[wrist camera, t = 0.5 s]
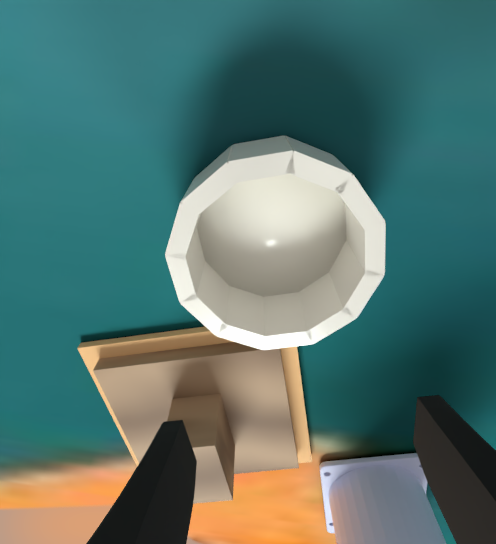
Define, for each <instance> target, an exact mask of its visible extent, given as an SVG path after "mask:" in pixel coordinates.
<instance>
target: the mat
mask: <svg viewBox="0 0 496 544" xmlns="http://www.w3.org/2000/svg"><path fill="white" fill-rule="evenodd" d="M229 342H234V341H230V340H227V339H224V338H220V337H217V336H215V335H214V334H213V333H212V332H211V331H210V330H209V329H207V328H206V327H198V328H190V329H183V330H175V331H167V332H160V333H152V334H144V335H136V336H129V337H121V338H113V339H106V340H98V341H90V342H83V343H80V345H79V347H78V350H79V352H80V354H81V356H82V358H83V360H84V362H85V364H86V366H87V368H88V370H89V372H90V374H91V376H92V378H93V380H94V382H95V384H96V386H97V388H98V390H99V392H100V394H101V396H102V398H103V400H104V402H105V404H106V406H107V408H108V410H109V412H110V414H111V415H112V417H113V419H114V421H115V423H116V425H117V427H118V429H119V431H120V433H121V435H122V437H123V439H124V441H125V443H126V445H127V447H128V449H129V451H130V453H131V455H132V457H133V459H134V461H135V463H136V465H137V466H138V465H139V462H138V460H137V458H136V456H135V454H134V452H133V450H132V448H131V446H130V444H129V442H128V440H127V438H126V436H125V434H124V432H123V430H122V428H121V426H120V424H119V422H118V420H117V418H116V416H115V414H114V412H113V410H112V408H111V406H110V404H109V402H108V400H107V398H106V396H105V394H104V392H103V390H102V388H101V386H100V384H99V382H98V380H97V378H96V376H95V374H94V372H93V369H94V368H95V366H96V364H97V362H98V360H99V359H101V358H109V357H117V356H125V355H133V354H141V353H149V352H157V351H165V350H173V349H181V348H189V347H197V346H205V345H213V344H221V343H229ZM280 350H281V356H282V362H283V369H284V375H285V381H286V387H287V394H288V400H289V406H290V412H291V419H292V425H293V431H294V438H295V444H296V450H297V457H298V463H306V462H312V457H311V449H310V442H309V434H308V427H307V419H306V411H305V404H304V396H303V388H302V381H301V373H300V365H299V358H298V350H297V346H294V347H286V348H280Z"/></svg>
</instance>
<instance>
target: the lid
mask: <svg viewBox="0 0 496 544" xmlns="http://www.w3.org/2000/svg"><path fill="white" fill-rule="evenodd" d="M93 372H94V374H95V376H96V378H97V380H98V382H99V384H100V386H101V388H102V390H103V392H104V394H105V396H106V398H107V400H108V402H109V404H110V406H111V408H112V410H113V412H114V414H115V416H116V418H117V420H118V422H119V424H120V426H121V428H122V430H123V432H124V434H125V436H126V438H127V440H128V442H129V444H130V446H131V448H132V450H133V452H134V454H135V456H136V458H137V460H138V462H139V463H140V461H141V460H142V458H143V456H144V455H145V453H146V451H147V449H148V448H149V446H150V444H151V442H152V441H153V439H154V437H155V435H156V433H157V432H158V430H159V428H160V426H161V424H162V423H163V422H166V421H176V420H183V423H184V426H185V428H186V431H187V434H188V437H189V440H190V443H191V446H192V449H193V451H194V454H195V457H196V460H197V466H196V481H195V493H194V501H193V503H204V502H215V501H227V500H233V482H234V474H238V473H249V472H260V471H270V470H281V469H292V468H299V465H298V457H297V450H296V444H295V438H294V431H293V425H292V419H291V412H290V406H289V400H288V394H287V387H286V381H285V375H284V369H283V362H282V356H281V350H280V348H278V349H270V350H264V348H263V350H261V349H257V348H254V347H250V346H247V345H244V344H240V343H237V342H229V343H221V344H213V345H205V346H197V347H189V348H181V349H173V350H165V351H157V352H149V353H141V354H133V355H125V356H117V357H109V358H101V359H99V360H98V362H97V364H96V366H95V368H94V369H93Z"/></svg>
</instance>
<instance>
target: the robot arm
mask: <svg viewBox="0 0 496 544" xmlns="http://www.w3.org/2000/svg"><path fill="white" fill-rule="evenodd" d="M413 443H414V446H415V449H416V452H417V453H410V454H400V455H389V456H378V457H368V458H357V459H346V460H336V461H325V462H322V463H321V464H320V466H319V468H320V476H321V485H322V494H323V502H324V511H325V519H326V527H327V531H328V532H329V533H335V537H336V542H337V544H446V542H445V539H444V537H443V535H442V532H441V530H440V527H439V525H438V523H437V520H436V518H435V515H434V513H433V511H432V508H431V506H430V503H429V501H428V499H427V496H426V490H427V482H428V484H429V486H430V488H431V490H432V492H433V495H434V497H435V499H436V501H437V503H438V505H439V507H440V509H441V512H442V514H443V516H444V518H445V520H446V522H447V524H448V526H449V528H450V530H451V532H452V535H453V537H454V539H455V541H456V543H457V544H496V450H495V449H494V448H492V447H491V446H490V445H489V444H488V443H487V442H486V441H485V440H484V439H483V438H482V437H481V436H480V435H479V434H478V433H477V432H476V431H475V430H474V429H473V428H472V427H471V426H470V425H469V424H468V423H467V422H466V421H465V420H463V419H462V418H461V417H460V416H459V414H458V413H457V412H456V411H455V410H454V409H453V408H452V407H451V406H450V405H449V404H448V403H447V402H446V401H445V400H444V399H443V398H442V397H440V396H439V395H435V396H425V397H417V407H416V417H415V428H414V439H413ZM196 466H197V460H196V457H195V454H194V451H193V449H192V446H191V443H190V440H189V437H188V434H187V431H186V428H185V426H184V423H183V420H176V421H166V422H163V423H162V424H161V426H160V428H159V430H158V432H157V433H156V435H155V437H154V439H153V441H152V442H151V444H150V446H149V448H148V449H147V451H146V453H145V455H144V456H143V458H142V460H141V461H140V463H139V465H138V466H137V468H136V470H135V471H134V473H133V475H132V476H131V478H130V480H129V481H128V483H127V484H126V486H125V488H124V489H123V491H122V492H121V494H120V496H119V497H118V499H117V500H116V502H115V503H114V505H113V506H112V508H111V509H110V511H109V512H108V514H107V515H106V516H105V518H104V519H103V521H102V522H101V524H100V525H99V527H98V528H97V530H96V531H95V533H94V534H93V535H92V537H91V538H90V539H89V541H88V542H87V544H186V541H187V535H188V530H189V524H190V518H191V513H192V507H193V501H194V493H195V481H196Z"/></svg>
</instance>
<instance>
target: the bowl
mask: <svg viewBox="0 0 496 544" xmlns="http://www.w3.org/2000/svg"><path fill="white" fill-rule="evenodd" d="M385 231H386V222H385V220H384V219H383V217H382V216H381V214H380V213H379V211H378V210H377V208H376V207H375V205H374V204H373V203H372V201H371V200H370V198H369V197H368V195H367V194H366V192H365V191H364V189H363V188H362V186H361V185H360V183H359V182H358V180H357V179H356V177H355V176H354V175H353V174H352V173H351V172H350V171H349V170H348V169H347V168H346V167H345V166H344V165H343V164H342V163H341V162H340V161H339V160H338V159H337V158H336V157H335V156H333V155H332V154H330V153H327V152H325V151H322V150H320V149H317V148H315V147H313V146H310V145H308V144H305V143H303V142H300V141H298V140H295V139H293V138H290V137H288V136H278V137H272V138H267V139H261V140H255V141H249V142H244V143H238V144H233V146H232V145H231V146H230V147H229V148H228V149H227V150H226V151H224V152H223V153H222V154H221V155H220V156H219V157H218V158H216V159H215V160H214V161H213V162H212V163H211V164H210V165H208V166H207V167H206V168H205V169H204V170H203V171H202V172H201V173H199V174H198V175H197V176H196V177H195V178H194V180H193V181H192V183H191V185H190V187H189V188H188V190H187V192H186V193H185V195H184V197H183V199H182V200H181V202H180V205H179V208H178V212H177V215H176V219H175V222H174V225H173V229H172V232H171V236H170V239H169V243H168V246H167V249H166V253H165V254H166V255H165V257H166V260H167V263H168V267H169V270H170V273H171V276H172V280H173V283H174V286H175V289H176V293H177V296H178V299H179V302H180V304H181V305H182V306H184V307H185V308H186V309H187V310H188V311H189V312H190V313H191V314H192V315H193V316H194V317H196V318H197V319H198V320H199V321H200V322H201V323H202V324H203V325H204V326H205V327H206V328H207V329H209V330H210V331H211V332H212V333H213V334H214V335H215V336H217V337H220V338H224V339H227V340H230V341H234V342H237V343H240V344H244V345H247V346H250V347H254V348H257V349H261V350H263V348H264V350H270V349H278V348H286V347H294V346H302V345H311V344H314V343H316V342H318V341H319V340H321V339H323V338H325V337H326V336H328V335H330V334H331V333H333V332H335V331H336V330H338V329H340V328H341V327H343V326H345V325H346V324H348V323H350V322H351V321H353V320H355V319H356V317H357V318H358V316H359V314H360V313H361V311H362V310H363V308H364V307H365V305H366V303H367V302H368V300H369V299H370V297H371V296H372V294H373V292H374V291H375V289H376V288H377V286H378V285H379V283H380V282H381V280H382V278H383V277H384V274H385Z"/></svg>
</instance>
